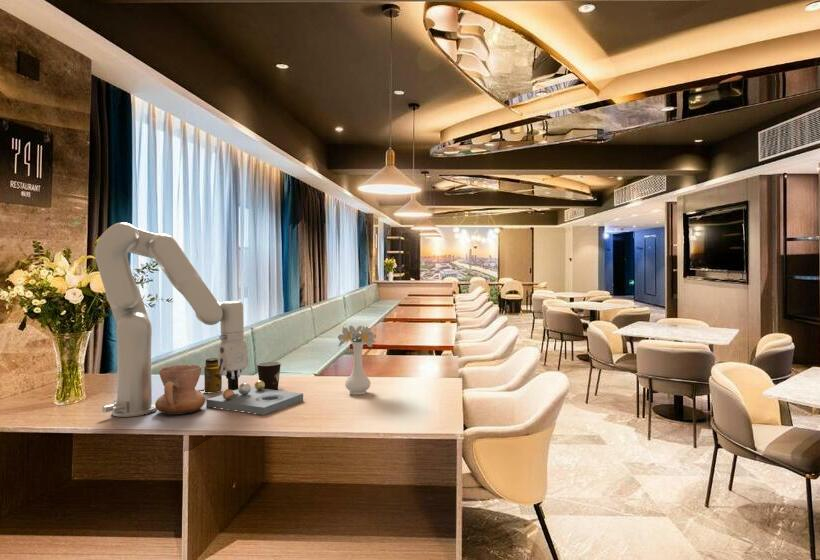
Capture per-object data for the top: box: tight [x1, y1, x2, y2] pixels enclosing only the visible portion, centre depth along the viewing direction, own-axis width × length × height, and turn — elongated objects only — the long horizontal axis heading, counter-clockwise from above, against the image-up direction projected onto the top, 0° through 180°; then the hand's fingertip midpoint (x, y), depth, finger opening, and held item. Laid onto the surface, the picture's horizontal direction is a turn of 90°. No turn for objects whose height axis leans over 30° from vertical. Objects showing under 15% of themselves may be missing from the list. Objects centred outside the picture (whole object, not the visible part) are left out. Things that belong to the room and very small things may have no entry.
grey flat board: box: [206, 386, 304, 416], centre depth 170 cm, size 24×20×2 cm
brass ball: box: [254, 379, 265, 390], centre depth 179 cm, size 4×4×4 cm
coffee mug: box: [256, 361, 282, 391], centre depth 191 cm, size 12×9×10 cm
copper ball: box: [222, 388, 234, 400], centre depth 166 cm, size 4×4×4 cm
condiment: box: [196, 357, 223, 393], centre depth 188 cm, size 7×8×12 cm
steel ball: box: [238, 382, 252, 395], centre depth 172 cm, size 4×4×4 cm
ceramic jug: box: [154, 363, 206, 415], centre depth 160 cm, size 18×14×14 cm
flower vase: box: [337, 325, 377, 396], centre depth 186 cm, size 13×18×25 cm
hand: (233, 389), depth 175 cm, fingers closed
